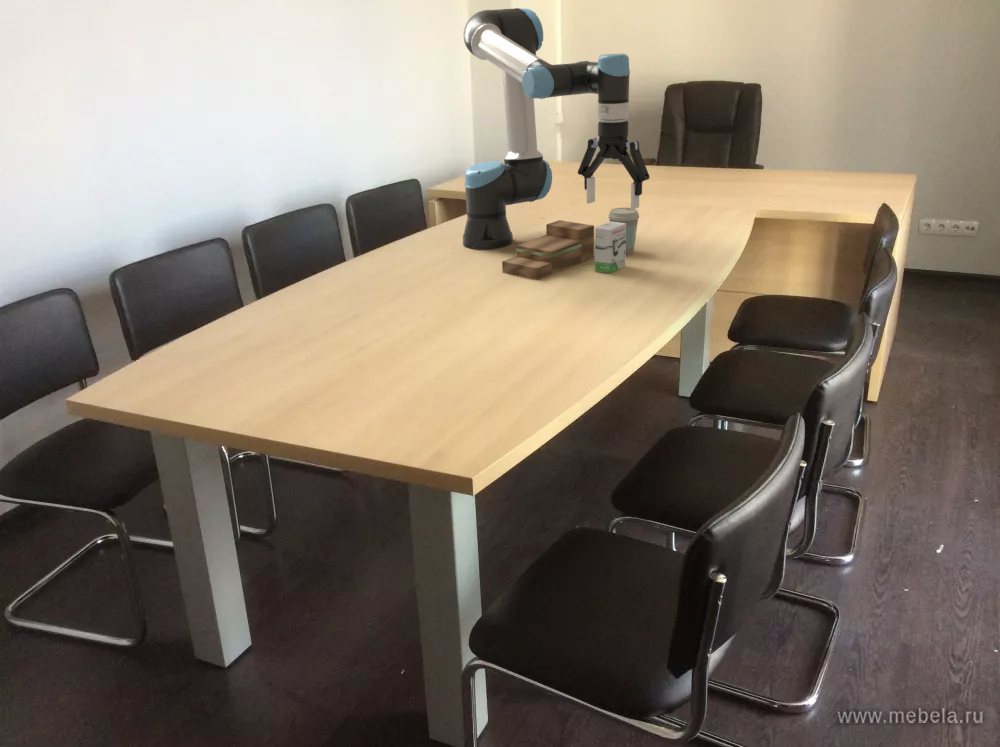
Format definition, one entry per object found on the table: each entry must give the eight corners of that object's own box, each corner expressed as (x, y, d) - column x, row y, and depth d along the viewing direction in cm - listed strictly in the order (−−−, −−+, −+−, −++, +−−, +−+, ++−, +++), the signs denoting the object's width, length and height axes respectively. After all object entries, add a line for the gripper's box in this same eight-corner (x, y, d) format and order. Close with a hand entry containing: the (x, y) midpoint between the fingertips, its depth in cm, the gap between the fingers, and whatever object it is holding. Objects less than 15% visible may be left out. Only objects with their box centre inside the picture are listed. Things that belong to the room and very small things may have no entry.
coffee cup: (637, 256, 233) (638, 213, 229) (606, 256, 235) (607, 213, 230) (639, 248, 241) (640, 207, 236) (609, 248, 243) (609, 207, 238)
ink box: (610, 274, 220) (610, 229, 215) (593, 271, 223) (594, 227, 218) (626, 265, 226) (627, 222, 221) (610, 263, 229) (610, 220, 224)
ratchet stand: (502, 272, 226) (500, 239, 222) (559, 251, 242) (559, 220, 239) (537, 279, 218) (536, 245, 214) (594, 257, 235) (594, 225, 231)
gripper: (563, 119, 215) (565, 202, 223) (648, 124, 199) (646, 213, 208) (581, 116, 220) (581, 197, 228) (664, 120, 204) (662, 207, 213)
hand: (612, 205), depth 218 cm, fingers open, 13 cm apart
